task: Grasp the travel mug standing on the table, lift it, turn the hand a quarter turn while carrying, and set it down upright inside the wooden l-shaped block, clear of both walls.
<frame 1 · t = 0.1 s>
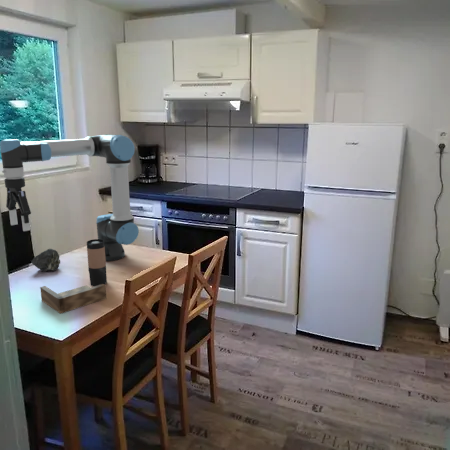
hand: (20, 227, 186), 28 cm above the table, fingers open, 13 cm apart
rock: (47, 271, 215), on the table
travel mug: (98, 284, 198), on the table
wooden l-shaped block: (74, 299, 182), on the table
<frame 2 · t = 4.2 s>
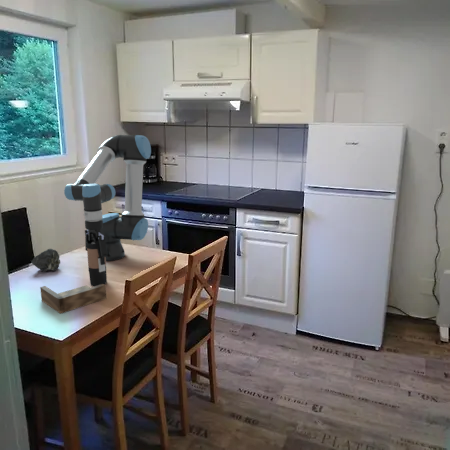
hand: (97, 268, 197), 7 cm above the table, fingers closed on travel mug, 8 cm apart
travel mug: (98, 284, 198), on the table, touching gripper
everything else where it was.
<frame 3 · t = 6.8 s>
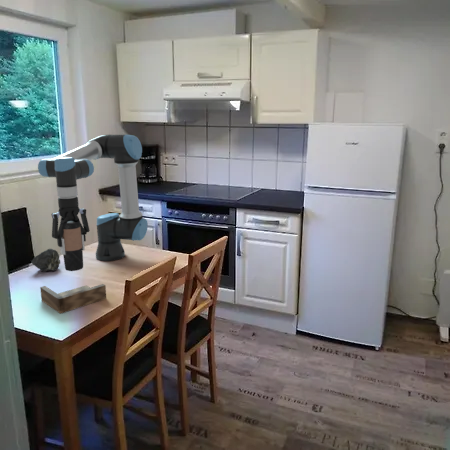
hand: (72, 251, 179), 20 cm above the table, fingers closed on travel mug, 8 cm apart
travel mug: (74, 268, 181), point 13 cm above the table, touching gripper
everything else where it was.
when the fingers open (10 cm above the table, at t = 9.4 s): travel mug drops 1 cm, resting on wooden l-shaped block.
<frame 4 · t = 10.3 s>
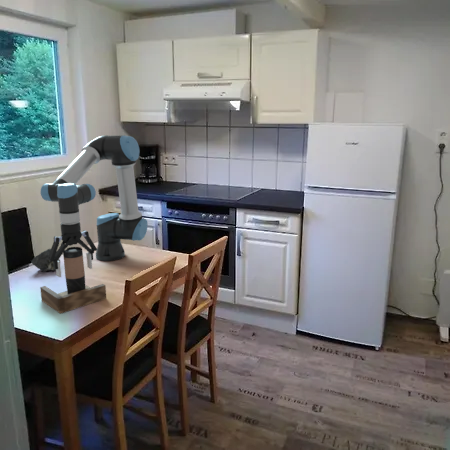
hand: (74, 272, 181), 11 cm above the table, fingers open, 13 cm apart
travel mug: (76, 295, 184), point 1 cm above the table, touching wooden l-shaped block
everything else where it was.
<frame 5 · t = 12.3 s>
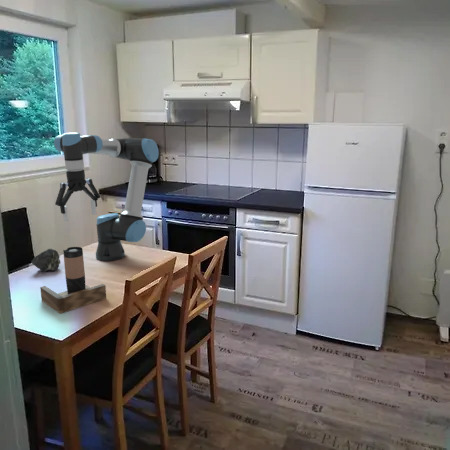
hand: (80, 217, 194), 30 cm above the table, fingers open, 13 cm apart
nothing on the table moved.
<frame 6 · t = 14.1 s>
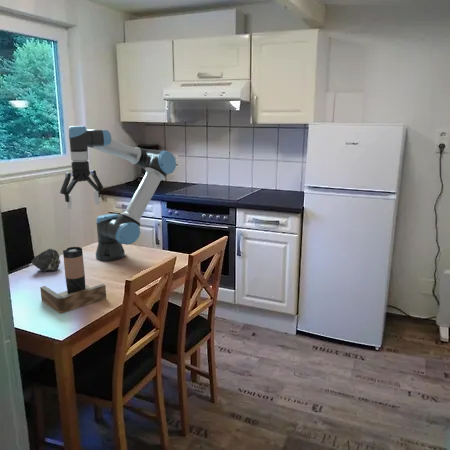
hand: (83, 206, 204), 33 cm above the table, fingers open, 13 cm apart
nothing on the table moved.
at the end: travel mug inside the target area on the wooden l-shaped block (0.5 cm from its centre), point 0.8 cm above the wooden l-shaped block's base; travel mug tilted 0°; the gripper is holding nothing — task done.
